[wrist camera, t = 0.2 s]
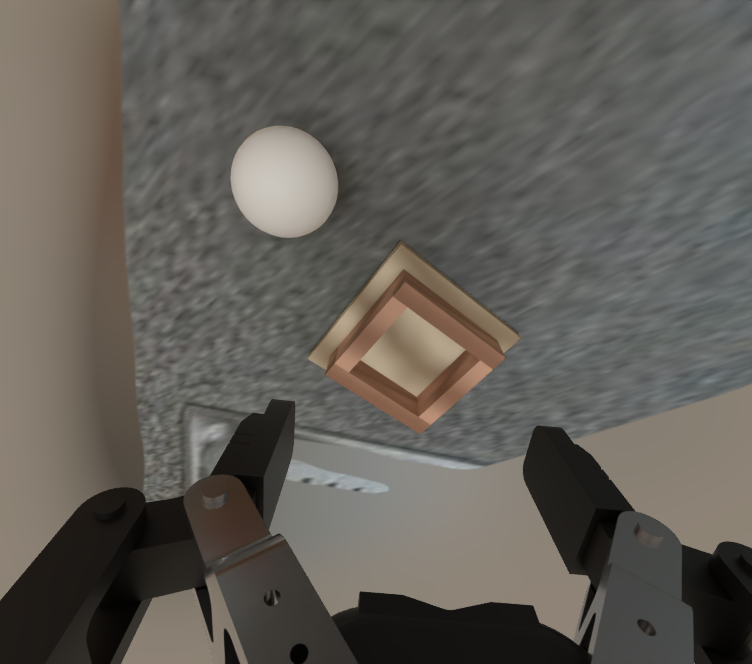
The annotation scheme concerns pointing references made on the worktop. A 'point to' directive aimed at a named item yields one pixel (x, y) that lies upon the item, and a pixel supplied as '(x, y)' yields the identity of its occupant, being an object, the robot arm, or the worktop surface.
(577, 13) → the worktop surface
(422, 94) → the worktop surface
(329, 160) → the lightbulb
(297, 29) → the worktop surface
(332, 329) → the socket stand
